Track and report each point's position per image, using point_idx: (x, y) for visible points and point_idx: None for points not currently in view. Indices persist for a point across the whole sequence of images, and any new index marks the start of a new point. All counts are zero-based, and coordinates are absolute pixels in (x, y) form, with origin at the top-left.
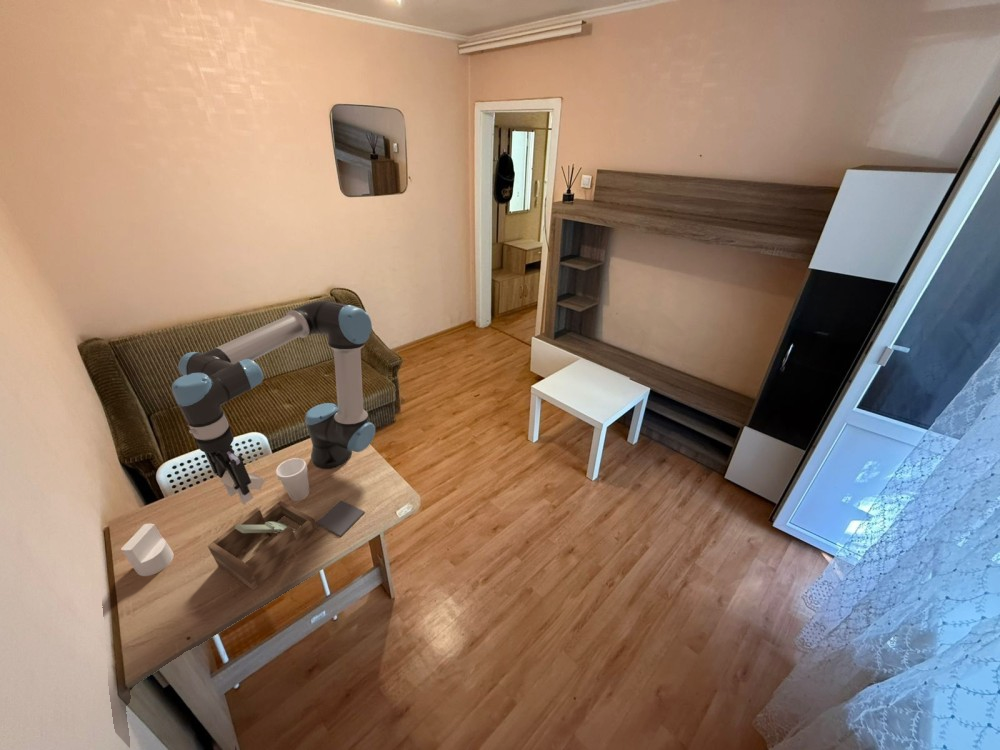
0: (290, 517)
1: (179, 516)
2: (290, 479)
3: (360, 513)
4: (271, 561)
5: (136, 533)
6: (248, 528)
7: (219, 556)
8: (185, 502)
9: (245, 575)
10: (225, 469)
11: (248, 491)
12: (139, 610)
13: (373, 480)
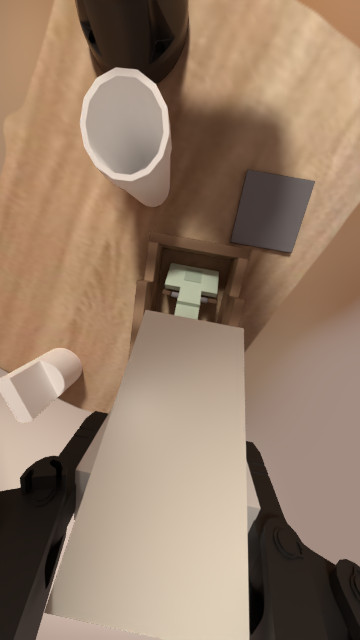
0: (182, 250)
1: (12, 301)
2: (153, 177)
3: (308, 189)
4: None
5: (5, 398)
6: None
7: None
8: None
9: None
10: (29, 626)
11: (258, 458)
12: (109, 410)
13: (293, 72)
